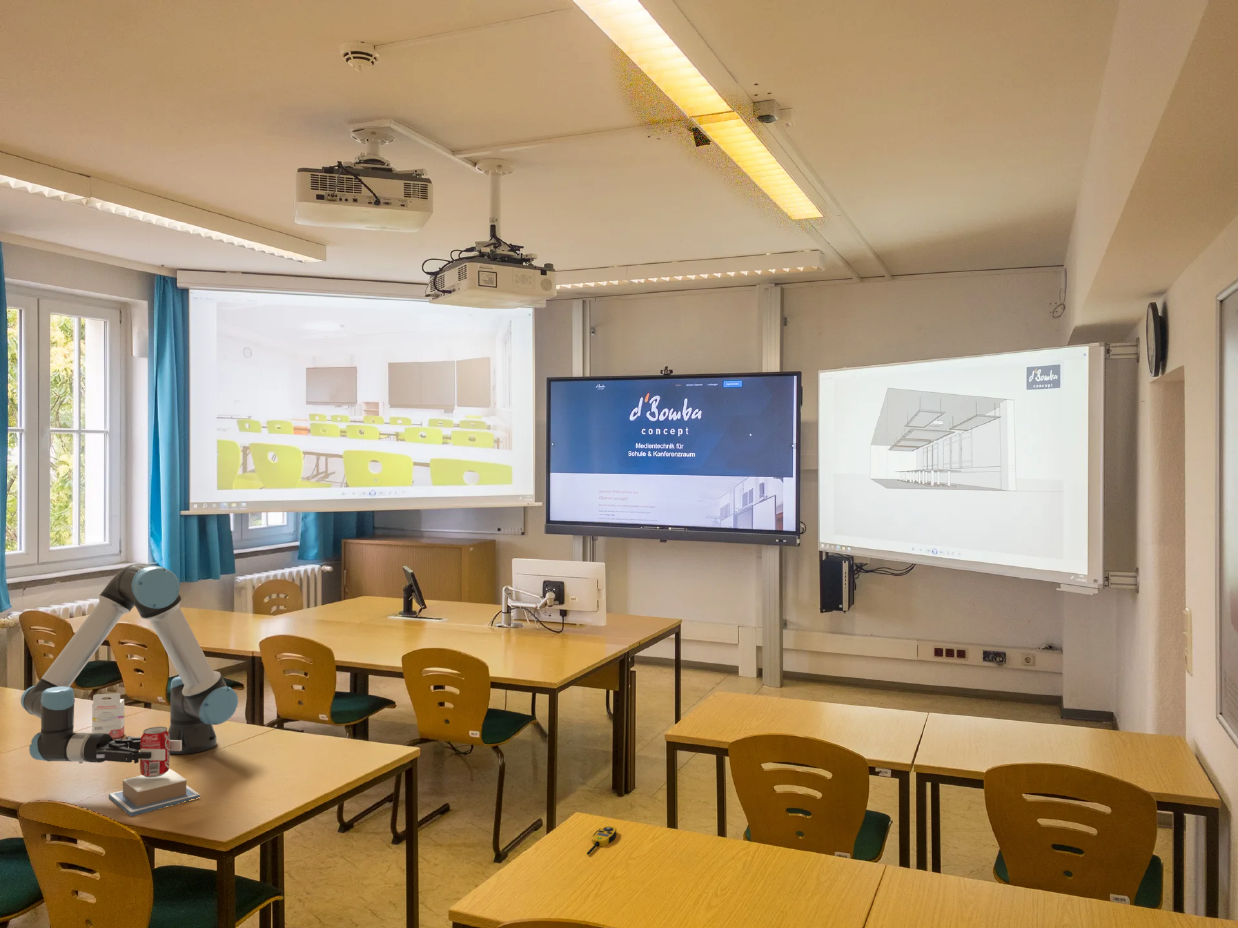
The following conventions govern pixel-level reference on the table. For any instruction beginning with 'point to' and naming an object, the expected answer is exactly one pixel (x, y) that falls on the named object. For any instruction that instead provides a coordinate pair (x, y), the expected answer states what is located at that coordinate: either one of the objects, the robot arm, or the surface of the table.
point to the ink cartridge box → (108, 715)
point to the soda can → (155, 740)
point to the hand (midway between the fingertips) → (172, 750)
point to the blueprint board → (152, 793)
